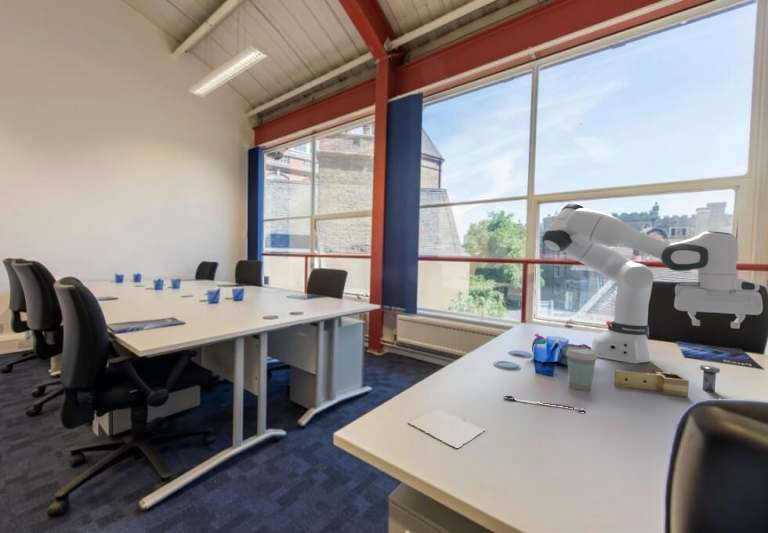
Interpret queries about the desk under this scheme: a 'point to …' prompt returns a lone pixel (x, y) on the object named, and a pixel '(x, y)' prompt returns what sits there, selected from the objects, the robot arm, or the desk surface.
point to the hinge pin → (709, 377)
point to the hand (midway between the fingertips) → (715, 326)
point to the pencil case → (562, 354)
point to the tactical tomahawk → (553, 404)
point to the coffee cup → (580, 367)
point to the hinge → (653, 380)
